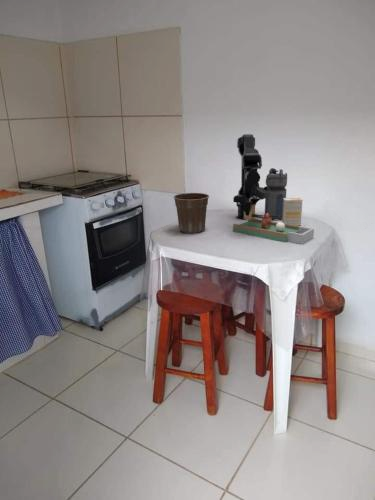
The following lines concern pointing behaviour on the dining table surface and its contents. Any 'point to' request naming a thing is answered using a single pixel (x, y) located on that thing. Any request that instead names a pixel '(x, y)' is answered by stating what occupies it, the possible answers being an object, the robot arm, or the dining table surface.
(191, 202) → the plant pot
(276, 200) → the beverage bottle
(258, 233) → the pitch
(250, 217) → the foosball rod
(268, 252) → the dining table surface
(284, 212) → the supplement box
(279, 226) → the ball
